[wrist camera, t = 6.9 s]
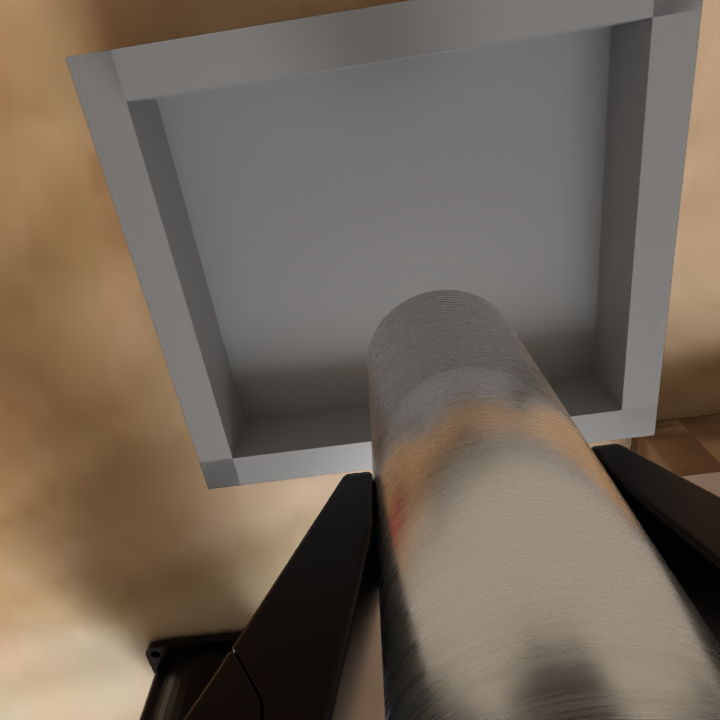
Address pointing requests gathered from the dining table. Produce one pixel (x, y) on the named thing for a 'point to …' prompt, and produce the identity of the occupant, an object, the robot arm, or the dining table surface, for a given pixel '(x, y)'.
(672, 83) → the tray
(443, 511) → the pin
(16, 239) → the dining table surface
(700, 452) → the socket block
